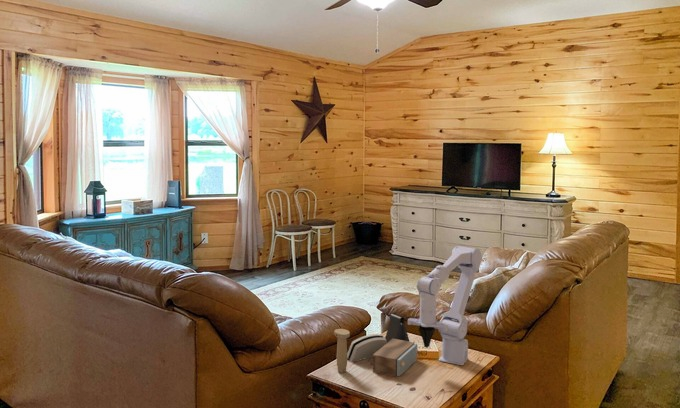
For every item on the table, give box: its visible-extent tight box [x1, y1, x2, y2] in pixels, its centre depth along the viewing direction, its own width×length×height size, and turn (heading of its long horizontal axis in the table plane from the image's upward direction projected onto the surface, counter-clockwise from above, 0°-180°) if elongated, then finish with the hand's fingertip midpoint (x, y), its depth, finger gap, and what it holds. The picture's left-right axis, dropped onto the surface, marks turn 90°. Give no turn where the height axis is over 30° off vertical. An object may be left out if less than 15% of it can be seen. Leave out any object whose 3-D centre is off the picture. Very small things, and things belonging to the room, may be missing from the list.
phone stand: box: [384, 313, 410, 344], centre depth 232 cm, size 9×6×12 cm, turn 126°
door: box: [396, 343, 418, 377], centre depth 207 cm, size 2×18×6 cm, turn 152°
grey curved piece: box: [347, 333, 387, 363], centre depth 218 cm, size 17×5×10 cm, turn 125°
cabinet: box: [372, 339, 415, 378], centre depth 210 cm, size 9×19×6 cm, turn 152°
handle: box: [333, 328, 351, 374], centre depth 203 cm, size 5×6×15 cm
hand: (426, 346), depth 204 cm, fingers closed
